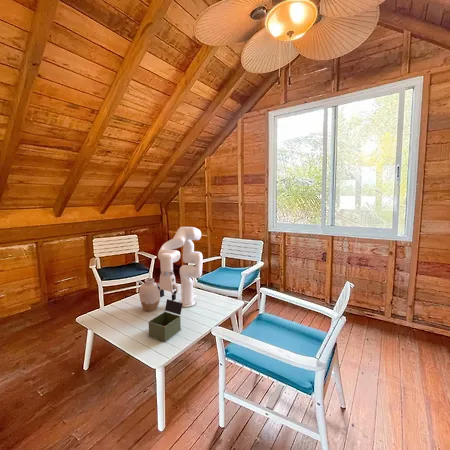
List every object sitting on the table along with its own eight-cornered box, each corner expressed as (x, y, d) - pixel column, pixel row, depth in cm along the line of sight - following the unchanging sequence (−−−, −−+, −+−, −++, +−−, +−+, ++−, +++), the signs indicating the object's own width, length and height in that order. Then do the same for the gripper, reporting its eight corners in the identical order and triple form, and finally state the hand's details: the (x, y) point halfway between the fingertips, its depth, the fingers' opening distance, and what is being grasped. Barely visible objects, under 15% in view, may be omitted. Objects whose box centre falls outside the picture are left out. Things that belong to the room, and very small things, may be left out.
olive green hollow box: (165, 324, 169) (164, 311, 168) (180, 329, 163) (180, 316, 162) (148, 335, 156) (148, 321, 154) (165, 341, 150) (164, 327, 148)
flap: (164, 310, 167) (165, 310, 168) (180, 315, 161) (180, 314, 162) (166, 299, 169) (167, 299, 169) (182, 303, 163) (182, 303, 163)
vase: (162, 302, 201) (161, 275, 197) (160, 312, 185) (159, 283, 182) (141, 304, 198) (140, 276, 195) (138, 314, 183) (136, 284, 179)
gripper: (181, 273, 156) (182, 298, 159) (160, 268, 164) (161, 293, 167) (173, 276, 149) (174, 303, 152) (152, 272, 158) (153, 297, 160)
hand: (167, 298), depth 159 cm, fingers open, 9 cm apart
